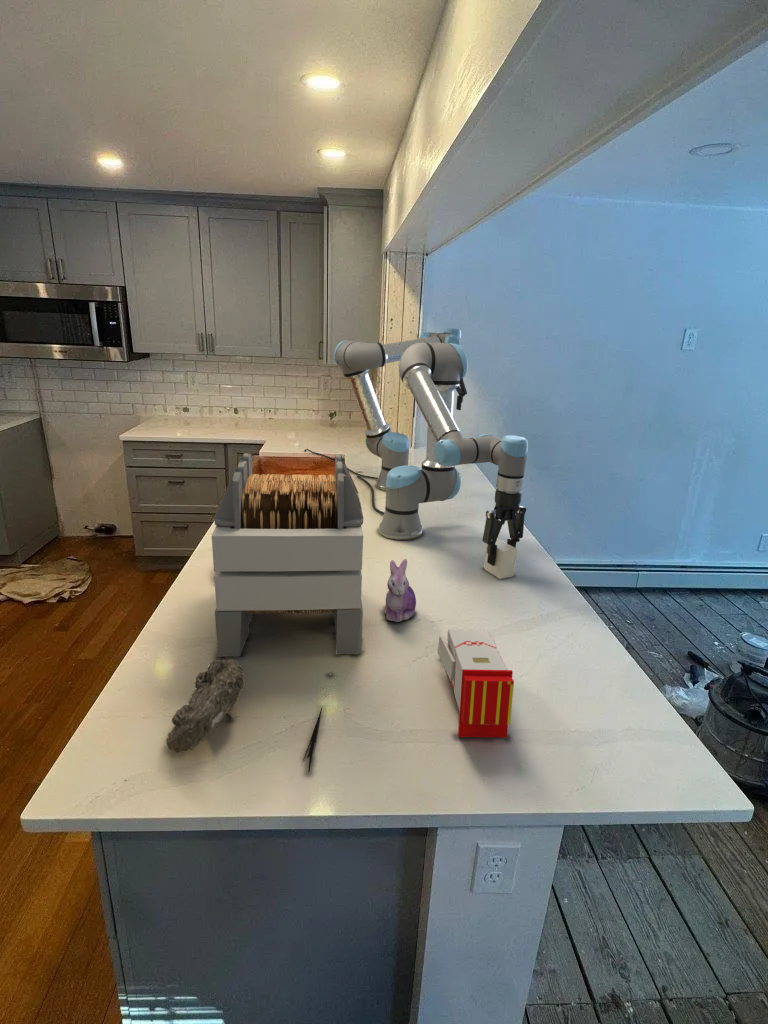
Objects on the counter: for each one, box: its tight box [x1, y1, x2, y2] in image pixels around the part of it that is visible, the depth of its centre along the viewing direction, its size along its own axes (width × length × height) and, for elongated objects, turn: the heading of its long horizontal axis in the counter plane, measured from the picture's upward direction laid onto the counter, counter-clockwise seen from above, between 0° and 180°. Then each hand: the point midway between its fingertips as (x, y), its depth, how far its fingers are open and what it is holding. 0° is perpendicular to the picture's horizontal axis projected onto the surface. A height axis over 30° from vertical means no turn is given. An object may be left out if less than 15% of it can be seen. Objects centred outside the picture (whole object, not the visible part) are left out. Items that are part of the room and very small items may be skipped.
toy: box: [437, 628, 515, 738], centre depth 117 cm, size 12×13×30 cm
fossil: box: [166, 658, 245, 754], centre depth 106 cm, size 22×10×15 cm
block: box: [483, 539, 518, 580], centre depth 172 cm, size 5×8×9 cm
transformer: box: [211, 452, 364, 658], centre depth 136 cm, size 34×33×41 cm
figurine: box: [384, 558, 417, 623], centre depth 145 cm, size 9×10×15 cm
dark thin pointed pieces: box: [301, 673, 332, 771], centre depth 108 cm, size 2×28×2 cm
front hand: (500, 561), depth 172 cm, fingers open, 6 cm apart
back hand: (446, 410), depth 266 cm, fingers open, 13 cm apart
